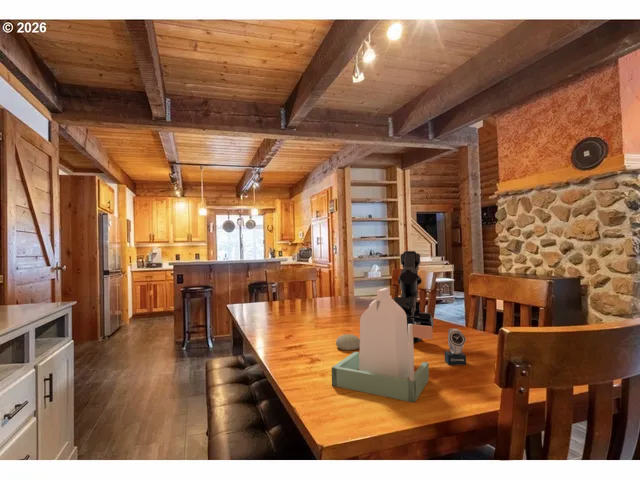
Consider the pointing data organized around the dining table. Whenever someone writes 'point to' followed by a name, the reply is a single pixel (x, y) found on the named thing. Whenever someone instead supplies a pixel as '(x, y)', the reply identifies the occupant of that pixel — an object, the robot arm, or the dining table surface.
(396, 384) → the corral
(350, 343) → the sea urchin shell
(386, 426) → the dining table surface
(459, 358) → the watch
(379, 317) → the milk
